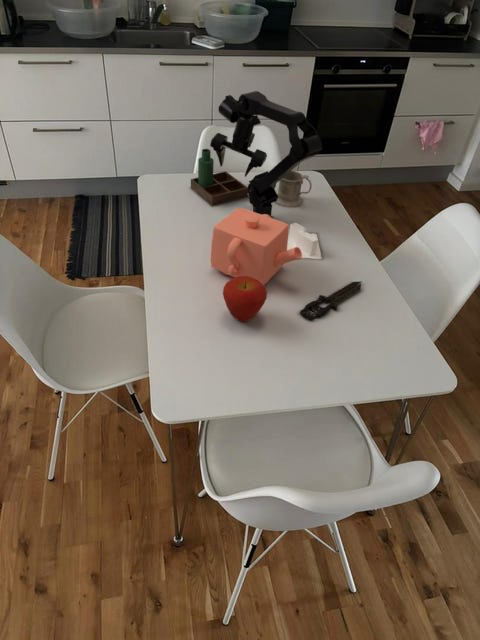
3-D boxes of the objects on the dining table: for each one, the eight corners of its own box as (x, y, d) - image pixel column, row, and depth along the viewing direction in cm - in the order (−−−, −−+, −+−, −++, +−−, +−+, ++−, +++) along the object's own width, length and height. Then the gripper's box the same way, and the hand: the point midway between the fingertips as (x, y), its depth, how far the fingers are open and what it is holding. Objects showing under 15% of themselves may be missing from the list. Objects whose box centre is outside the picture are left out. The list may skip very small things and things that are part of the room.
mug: (269, 198, 186) (272, 167, 178) (287, 191, 191) (291, 161, 183) (297, 214, 179) (302, 183, 171) (316, 206, 184) (321, 176, 176)
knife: (357, 281, 151) (358, 277, 150) (373, 292, 147) (374, 288, 146) (294, 310, 139) (295, 306, 138) (310, 323, 135) (311, 319, 134)
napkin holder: (322, 258, 158) (325, 243, 155) (286, 257, 158) (289, 241, 154) (316, 233, 170) (319, 218, 166) (283, 231, 169) (285, 216, 165)
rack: (247, 196, 186) (248, 187, 184) (212, 206, 179) (212, 196, 177) (225, 179, 195) (225, 171, 193) (190, 188, 188) (190, 179, 186)
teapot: (311, 270, 153) (321, 218, 142) (277, 309, 138) (285, 255, 127) (241, 243, 162) (244, 192, 150) (202, 277, 147) (203, 224, 135)
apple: (271, 316, 136) (276, 281, 128) (246, 336, 129) (249, 300, 121) (239, 298, 141) (242, 263, 133) (213, 317, 134) (215, 280, 126)
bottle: (208, 193, 185) (209, 154, 175) (195, 189, 186) (195, 151, 177) (215, 187, 188) (216, 149, 179) (202, 183, 190) (203, 146, 180)
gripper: (277, 130, 168) (265, 170, 180) (226, 109, 169) (217, 150, 181) (267, 145, 160) (255, 185, 172) (213, 123, 162) (205, 164, 174)
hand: (233, 171), depth 175 cm, fingers open, 9 cm apart
